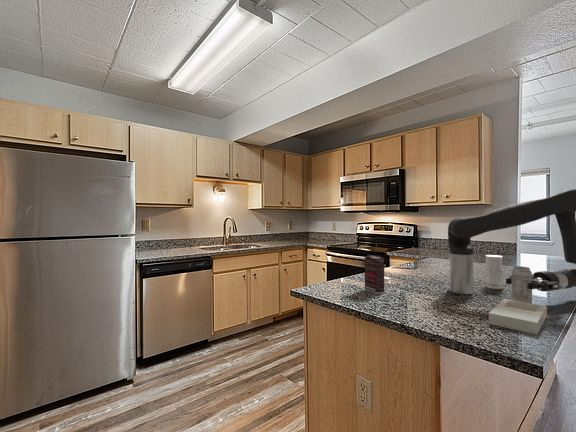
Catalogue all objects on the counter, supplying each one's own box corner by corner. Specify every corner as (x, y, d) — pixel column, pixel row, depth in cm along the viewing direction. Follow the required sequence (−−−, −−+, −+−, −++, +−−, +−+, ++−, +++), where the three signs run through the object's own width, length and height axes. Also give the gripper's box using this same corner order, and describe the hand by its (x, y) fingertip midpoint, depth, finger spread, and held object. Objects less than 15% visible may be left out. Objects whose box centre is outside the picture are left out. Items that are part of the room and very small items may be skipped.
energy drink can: (534, 308, 110) (534, 267, 110) (527, 310, 107) (527, 269, 107) (515, 303, 115) (515, 265, 115) (508, 306, 112) (508, 267, 112)
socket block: (488, 323, 95) (488, 312, 94) (504, 308, 110) (504, 298, 110) (537, 334, 86) (537, 322, 86) (546, 316, 101) (546, 306, 101)
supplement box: (385, 293, 131) (384, 257, 131) (376, 294, 129) (376, 258, 129) (372, 288, 139) (372, 255, 139) (364, 289, 137) (363, 256, 137)
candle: (481, 286, 143) (481, 255, 143) (493, 285, 144) (493, 254, 144) (494, 289, 136) (494, 257, 136) (506, 288, 138) (506, 256, 138)
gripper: (529, 267, 121) (499, 270, 117) (571, 274, 108) (538, 277, 103) (529, 286, 121) (499, 289, 117) (571, 295, 108) (538, 298, 103)
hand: (517, 283), depth 110 cm, fingers open, 7 cm apart
